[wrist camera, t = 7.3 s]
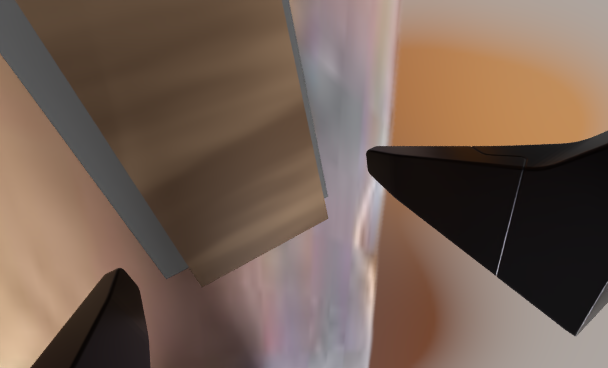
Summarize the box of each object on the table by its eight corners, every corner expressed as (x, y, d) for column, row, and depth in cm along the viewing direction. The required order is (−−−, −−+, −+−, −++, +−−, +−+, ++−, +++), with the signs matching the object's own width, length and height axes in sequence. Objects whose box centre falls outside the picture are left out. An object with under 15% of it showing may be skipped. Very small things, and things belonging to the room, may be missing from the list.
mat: (324, 194, 19) (327, 196, 19) (165, 274, 16) (166, 279, 15) (264, -100, 11) (268, -104, 11) (-82, -66, 8) (-91, -71, 7)
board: (328, 218, 15) (265, -79, 8) (202, 287, 12) (-14, -43, 6) (298, 191, 17) (234, -46, 11) (191, 244, 15) (35, -14, 9)
